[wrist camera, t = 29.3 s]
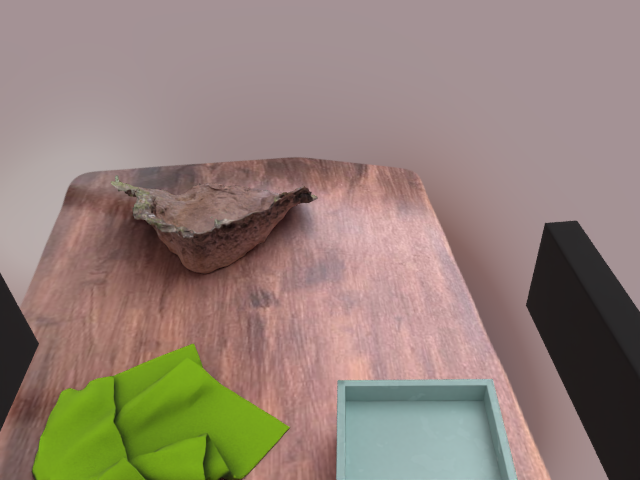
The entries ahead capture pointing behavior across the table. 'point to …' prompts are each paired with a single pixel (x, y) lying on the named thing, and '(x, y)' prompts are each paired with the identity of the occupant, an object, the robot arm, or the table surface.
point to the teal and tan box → (421, 431)
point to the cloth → (155, 427)
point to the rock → (212, 219)
